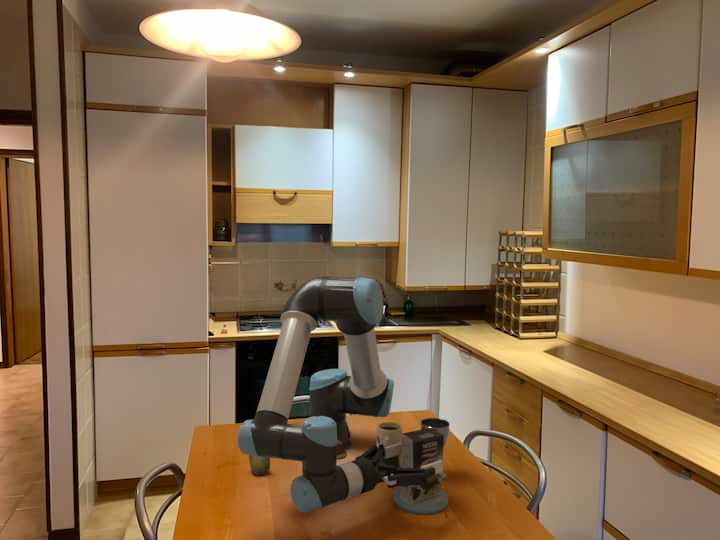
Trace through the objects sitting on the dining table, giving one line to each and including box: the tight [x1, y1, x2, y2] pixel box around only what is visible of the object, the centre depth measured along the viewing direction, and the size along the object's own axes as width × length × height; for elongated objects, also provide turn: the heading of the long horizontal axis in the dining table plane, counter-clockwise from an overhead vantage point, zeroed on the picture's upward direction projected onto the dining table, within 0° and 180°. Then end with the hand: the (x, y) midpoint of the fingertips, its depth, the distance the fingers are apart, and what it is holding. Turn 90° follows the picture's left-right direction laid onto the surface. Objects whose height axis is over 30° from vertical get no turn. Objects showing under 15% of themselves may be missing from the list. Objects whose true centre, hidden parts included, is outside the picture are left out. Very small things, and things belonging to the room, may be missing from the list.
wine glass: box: [420, 417, 450, 480], centre depth 158 cm, size 8×8×15 cm
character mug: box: [376, 421, 403, 473], centre depth 160 cm, size 11×7×13 cm, turn 168°
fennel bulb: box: [248, 455, 271, 476], centre depth 157 cm, size 6×5×12 cm
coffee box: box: [399, 428, 444, 504], centre depth 143 cm, size 9×6×16 cm
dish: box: [393, 486, 449, 516], centre depth 143 cm, size 14×14×1 cm
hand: (422, 456), depth 142 cm, fingers open, 13 cm apart
